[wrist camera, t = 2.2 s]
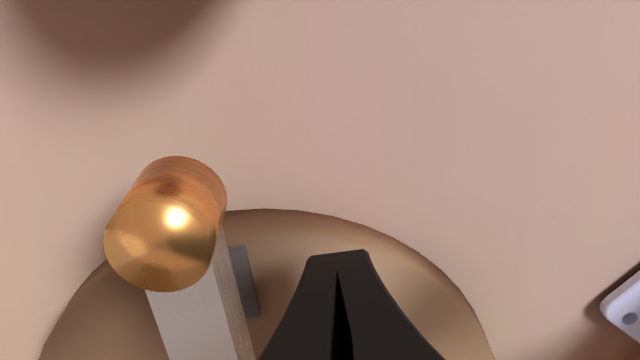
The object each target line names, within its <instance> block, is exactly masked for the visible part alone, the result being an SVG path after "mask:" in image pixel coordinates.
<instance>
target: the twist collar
mask: <svg viewBox="0 0 640 360" xmlns="http://www.w3.org/2000/svg"><path fill="white" fill-rule="evenodd" d="M226 206H227V194H226V190H225V187H224V185H223V183H222V181H221V179H220V178H219V177H218V175H217V174H216V173H215V172H214V171H213V170H212V169H211V168H209V167H208V166H207V165H205V164H203V163H202V162H200V161H197V160H195V159H192V158H188V157H182V156H169V157H164V158H161V159H158V160H156V161H154V162H152V163H151V164H149V165H148V166H147V167H146V168H144V170H143V171H142V172H141V173H140V175H139V177H138V178H137V180H136V181H135V183H134V184H133V186H132V187H131V189H130V190H129V192H128V194H127V195H126V197H125V198H124V200H123V201H122V203H121V204H120V206H119V208H118V209H117V211H116V212H115V214H114V215H113V217H112V218H111V220H110V222H109V223H108V225H107V227H106V229H105V232H104V237H103V247H104V252H105V255H106V258H107V260H108V262H109V263H110V265H111V267H112V268H113V269H114V270H115V271H116V272H117V273H118V274H119V275H120V276H121V277H122V278H123V279H125V280H126V281H128V282H129V283H131V284H133V285H135V286H137V287H140V288H142V289H145V292H146V295H147V298H148V300H149V303H150V306H151V309H152V312H153V314H154V317H155V320H156V323H157V326H158V329H159V331H160V334H161V337H162V340H163V343H164V346H165V348H166V351H167V354H168V357H169V360H256V359H255V355H254V351H253V347H252V343H251V339H250V335H249V331H248V327H247V323H246V319H245V315H244V311H243V308H242V304H241V300H240V296H239V292H238V288H237V284H236V280H235V276H234V272H233V268H232V264H231V260H230V256H229V252H228V248H227V244H226V240H225V237H224V233H223V229H222V225H221V224H222V221H223V217H224V214H225V210H226Z"/></svg>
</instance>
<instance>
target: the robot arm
mask: <svg viewBox="0 0 640 360" xmlns="http://www.w3.org/2000/svg"><path fill="white" fill-rule="evenodd" d="M600 311H601V312H602V314H603V315H604V316H605V318H606V319H607V320H608V321H609V322H611V323H612V324H614V325H615V326H616V327H618V328H619V329H620V330H622V331H623V332H625V333H626V334H627V335H629V336H630V337H632V338H633V339H634V340H636V341H637V342H638V343H640V271H638V272H637V273H636V274H634V275H633V276H632V277H631V278H629V279H628V280H627V281H626V282H624V283H623V284H622V285H621V286H619V287H618V288H617V289H615V290H614V291H613V292H612V293H610V294H609V295H608V296H607V297H605V298H604V300H603V301H602V302H601V304H600ZM628 313H629V314H628ZM626 314H628V315H626ZM624 315H626V316H624ZM257 360H446V359H445V358H444V357H443V356H442V355H441V354H440V353H439V352H438V351H437V350H436V349H435V348H434V347H433V346H432V345H431V344H430V343H429V342H428V341H427V340H426V339H425V338H424V336H423V335H422V334H421V333H420V332H419V331H418V330H417V328H416V327H415V326H414V325H413V324H412V322H411V321H410V320H409V319H408V317H407V316H406V315H405V314H404V312H403V311H402V310H401V308H400V307H399V306H398V304H397V303H396V301H395V300H394V298H393V297H392V296H391V294H390V293H389V291H388V290H387V288H386V287H385V285H384V284H383V282H382V280H381V278H380V277H379V275H378V273H377V271H376V269H375V268H374V265H373V263H372V261H371V259H370V256H369V252H367V251H366V250H364V249H358V250H351V251H343V252H335V253H328V254H320V255H312V256H310V257H309V258H308V259H307V261H306V265H305V268H304V271H303V273H302V276H301V279H300V281H299V284H298V286H297V288H296V291H295V293H294V295H293V297H292V299H291V301H290V303H289V305H288V307H287V309H286V311H285V314H284V316H283V317H282V319H281V321H280V323H279V325H278V326H277V328H276V330H275V332H274V333H273V335H272V337H271V339H270V340H269V342H268V344H267V345H266V347H265V349H264V350H263V352H262V353H261V355H260V356H259V358H258V359H257Z"/></svg>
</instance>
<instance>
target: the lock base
mask: <svg viewBox="0 0 640 360" xmlns="http://www.w3.org/2000/svg"><path fill="white" fill-rule="evenodd" d="M221 225H222V229H223V233H224V237H225V240H226V244H227V248H228V252H229V256H230V260H231V264H232V268H233V272H234V276H235V280H236V284H237V288H238V292H239V296H240V300H241V304H242V308H243V311H244V315H245V319H246V323H247V327H248V331H249V335H250V339H251V343H252V347H253V351H254V355H255V359H256V360H257V359H258V358H259V356H260V355H261V353H262V352H263V350H264V349H265V347H266V345H267V344H268V342H269V340H270V339H271V337H272V335H273V333H274V332H275V330H276V328H277V326H278V325H279V323H280V321H281V319H282V317H283V316H284V314H285V311H286V309H287V307H288V305H289V303H290V301H291V299H292V297H293V295H294V293H295V291H296V288H297V286H298V284H299V281H300V279H301V276H302V273H303V271H304V268H305V265H306V261H307V259H308V258H309V257H310V256H312V255H320V254H328V253H335V252H343V251H351V250H358V249H364V250H366V251H367V252H369V256H370V259H371V261H372V263H373V265H374V268H375V269H376V271H377V273H378V275H379V277H380V278H381V280H382V282H383V284H384V285H385V287H386V288H387V290H388V291H389V293H390V294H391V296H392V297H393V298H394V300H395V301H396V303H397V304H398V306H399V307H400V308H401V310H402V311H403V312H404V314H405V315H406V316H407V317H408V319H409V320H410V321H411V322H412V324H413V325H414V326H415V327H416V328H417V330H418V331H419V332H420V333H421V334H422V335H423V336H424V338H425V339H426V340H427V341H428V342H429V343H430V344H431V345H432V346H433V347H434V348H435V349H436V350H437V351H438V352H439V353H440V354H441V355H442V356H443V357H444V358H445V359H446V360H495V358H494V356H493V353H492V351H491V348H490V346H489V343H488V341H487V339H486V336H485V334H484V331H483V329H482V327H481V324H480V322H479V320H478V318H477V316H476V314H475V312H474V309H473V308H472V306H471V305H470V304H469V302H468V301H467V299H466V298H465V296H464V295H463V293H462V292H461V291H460V289H459V288H458V287H457V286H456V285H455V284H454V283H453V282H452V281H451V280H450V279H449V278H448V277H447V275H446V274H445V273H444V272H443V271H442V270H441V269H439V268H438V267H437V266H435V265H434V264H433V263H432V262H430V261H429V260H428V259H427V258H425V257H424V256H423V255H421V254H420V253H419V252H417V251H415V250H414V249H412V248H410V247H408V246H407V245H405V244H403V243H402V242H400V241H398V240H396V239H395V238H393V237H391V236H388V235H386V234H383V233H381V232H379V231H376V230H374V229H372V228H369V227H367V226H365V225H361V224H358V223H354V222H351V221H347V220H344V219H341V218H337V217H334V216H329V215H323V214H317V213H311V212H305V211H299V210H279V209H251V210H235V211H226V212H225V214H224V217H223V221H222V224H221ZM39 360H169V357H168V354H167V351H166V348H165V346H164V343H163V340H162V337H161V334H160V331H159V329H158V326H157V323H156V320H155V317H154V314H153V312H152V309H151V306H150V303H149V300H148V298H147V295H146V292H145V289H142V288H140V287H137V286H135V285H133V284H131V283H129V282H128V281H126V280H125V279H123V278H122V277H121V276H120V275H119V274H118V273H117V272H116V271H115V270H114V269H113V268H112V267H111V265H110V263H109V262H108V260H106V261H105V262H104V263H103V264H101V265H100V266H99V267H98V268H97V269H96V270H95V271H93V272H92V273H91V275H90V276H89V277H88V278H87V279H86V281H85V282H84V283H83V284H82V285H81V286H80V288H79V289H78V290H77V291H76V293H75V294H74V296H73V298H72V299H71V301H70V302H69V304H68V306H67V307H66V309H65V311H64V312H63V314H62V315H61V317H60V319H59V320H58V322H57V324H56V325H55V327H54V329H53V331H52V332H51V334H50V336H49V337H48V339H47V341H46V343H45V344H44V347H43V350H42V353H41V356H40V358H39Z"/></svg>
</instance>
